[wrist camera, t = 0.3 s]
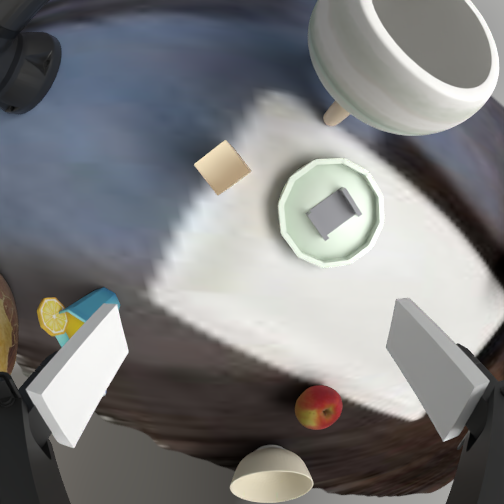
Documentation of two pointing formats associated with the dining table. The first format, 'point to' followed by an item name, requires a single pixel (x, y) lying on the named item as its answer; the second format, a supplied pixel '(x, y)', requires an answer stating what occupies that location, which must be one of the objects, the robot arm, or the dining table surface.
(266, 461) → the bowl
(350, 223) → the dish
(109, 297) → the cup
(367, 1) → the planter
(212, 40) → the dining table surface
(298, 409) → the apple
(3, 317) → the vase
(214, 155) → the tan wooden block
